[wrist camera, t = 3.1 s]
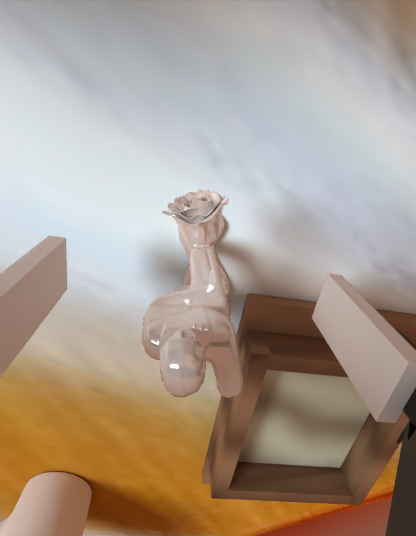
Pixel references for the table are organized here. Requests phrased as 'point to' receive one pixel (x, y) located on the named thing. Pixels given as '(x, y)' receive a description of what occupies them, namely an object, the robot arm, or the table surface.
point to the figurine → (195, 307)
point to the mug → (50, 507)
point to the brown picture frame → (297, 414)
